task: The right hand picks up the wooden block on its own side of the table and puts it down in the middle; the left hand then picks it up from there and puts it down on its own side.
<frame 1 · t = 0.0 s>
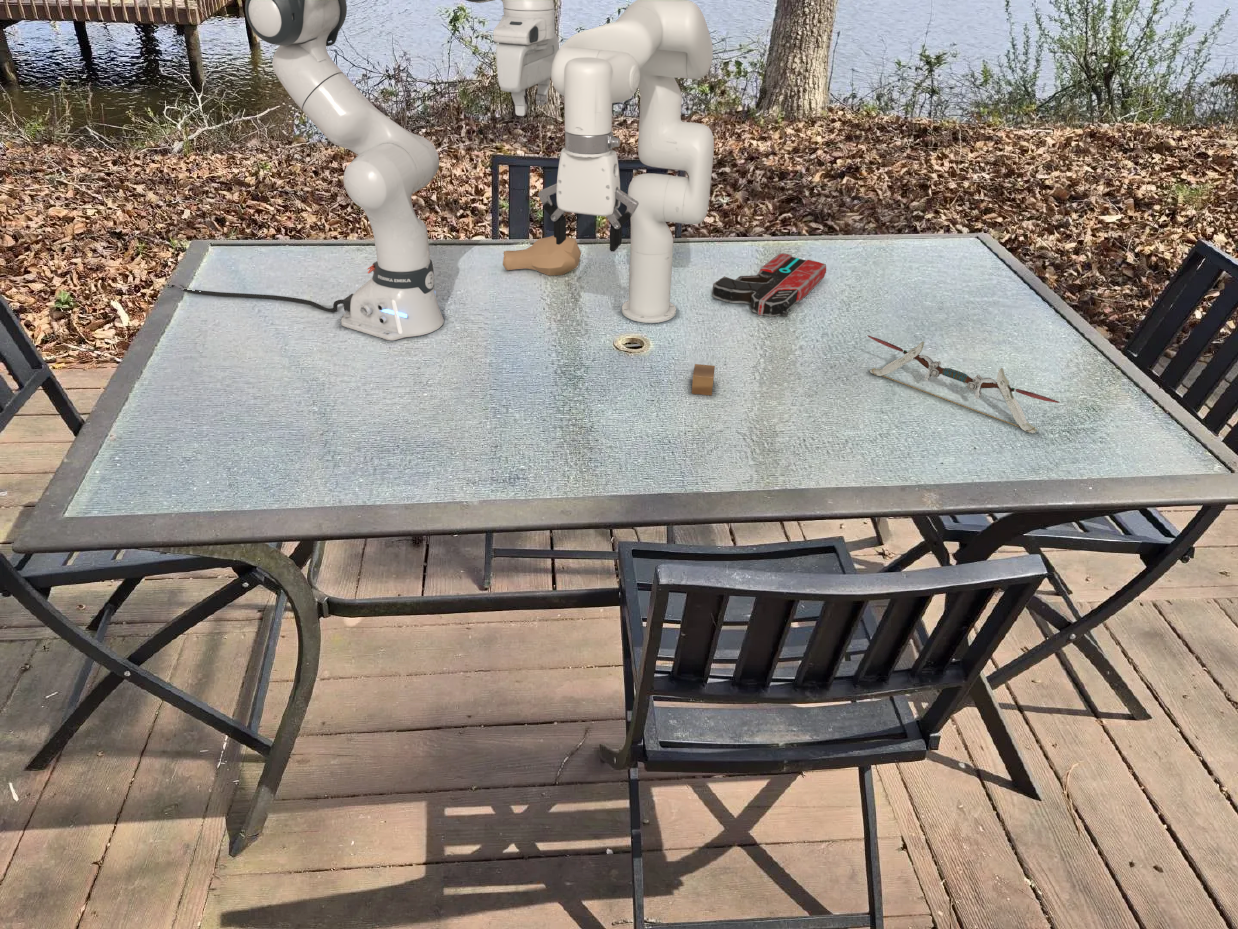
left hand: (531, 109, 161), 48 cm above the table, tool pointing down, fingers open, 8 cm apart
right hand: (587, 245, 151), 31 cm above the table, tool pointing down, fingers open, 9 cm apart
block: (702, 388, 174), on the table
bow: (948, 401, 172), on the table
squash: (542, 271, 224), on the table
gun: (770, 291, 216), on the table
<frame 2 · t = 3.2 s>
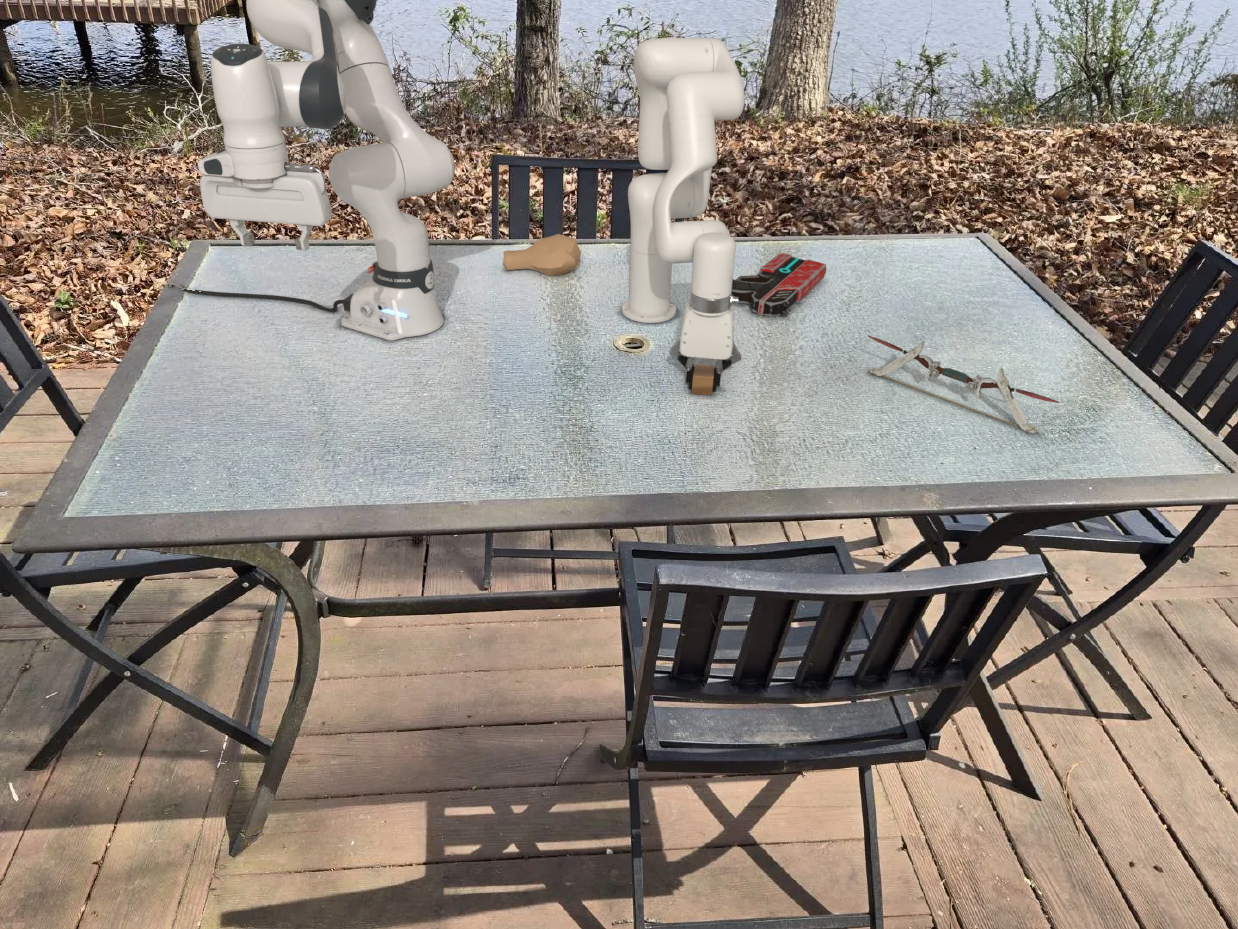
left hand: (275, 247, 144), 32 cm above the table, tool pointing down, fingers open, 8 cm apart
right hand: (702, 386, 174), 1 cm above the table, tool pointing down, fingers closed on block, 4 cm apart
block: (702, 388, 174), on the table, touching right hand
everything else where it was.
when the right hand's fingers open (2 cm above the table, at t = 6.6 s): block drops 1 cm, on the table.
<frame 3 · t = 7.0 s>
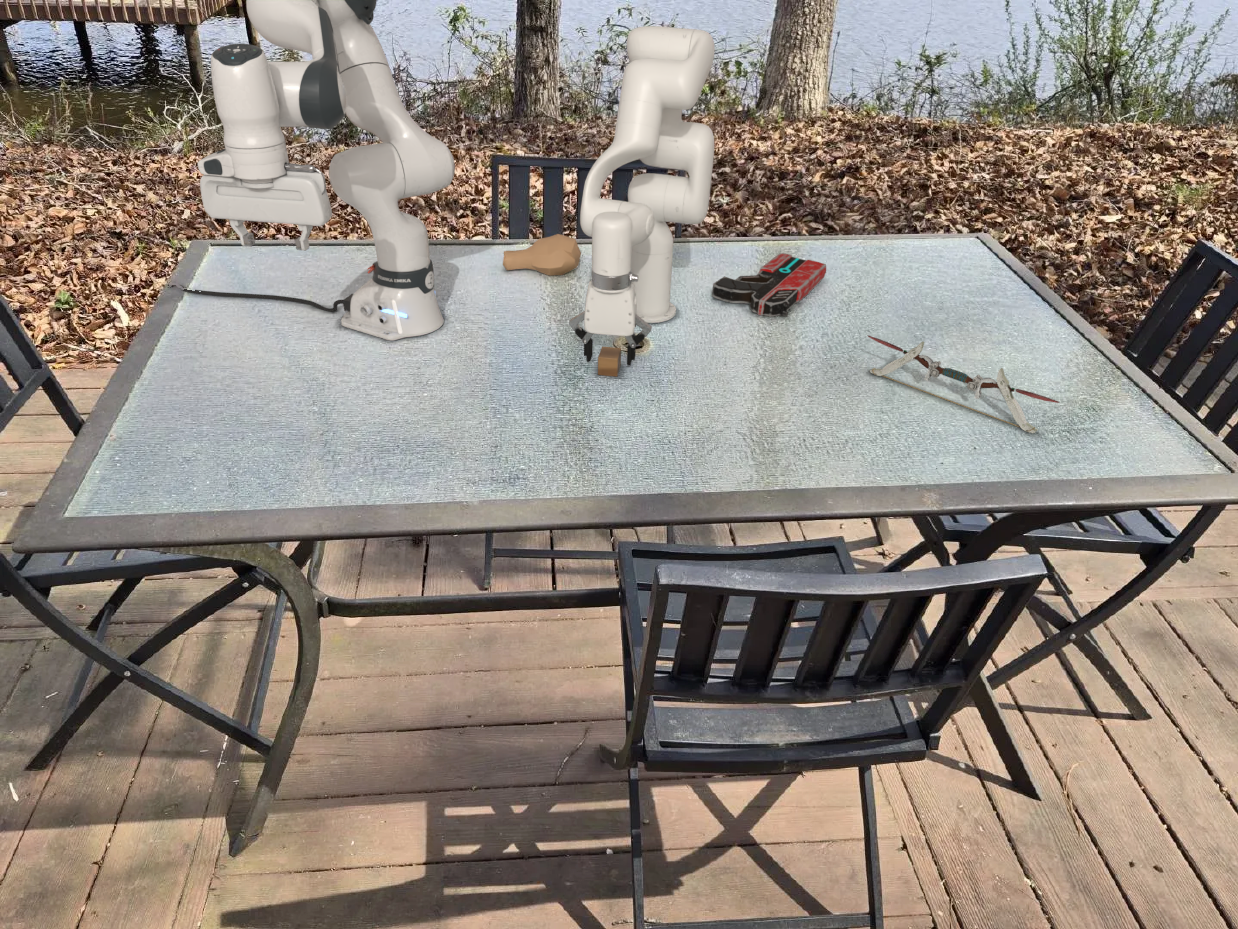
left hand: (275, 247, 144), 32 cm above the table, tool pointing down, fingers open, 8 cm apart
right hand: (609, 360, 178), 2 cm above the table, tool pointing down, fingers open, 7 cm apart
block: (609, 370, 179), on the table
everything else where it was.
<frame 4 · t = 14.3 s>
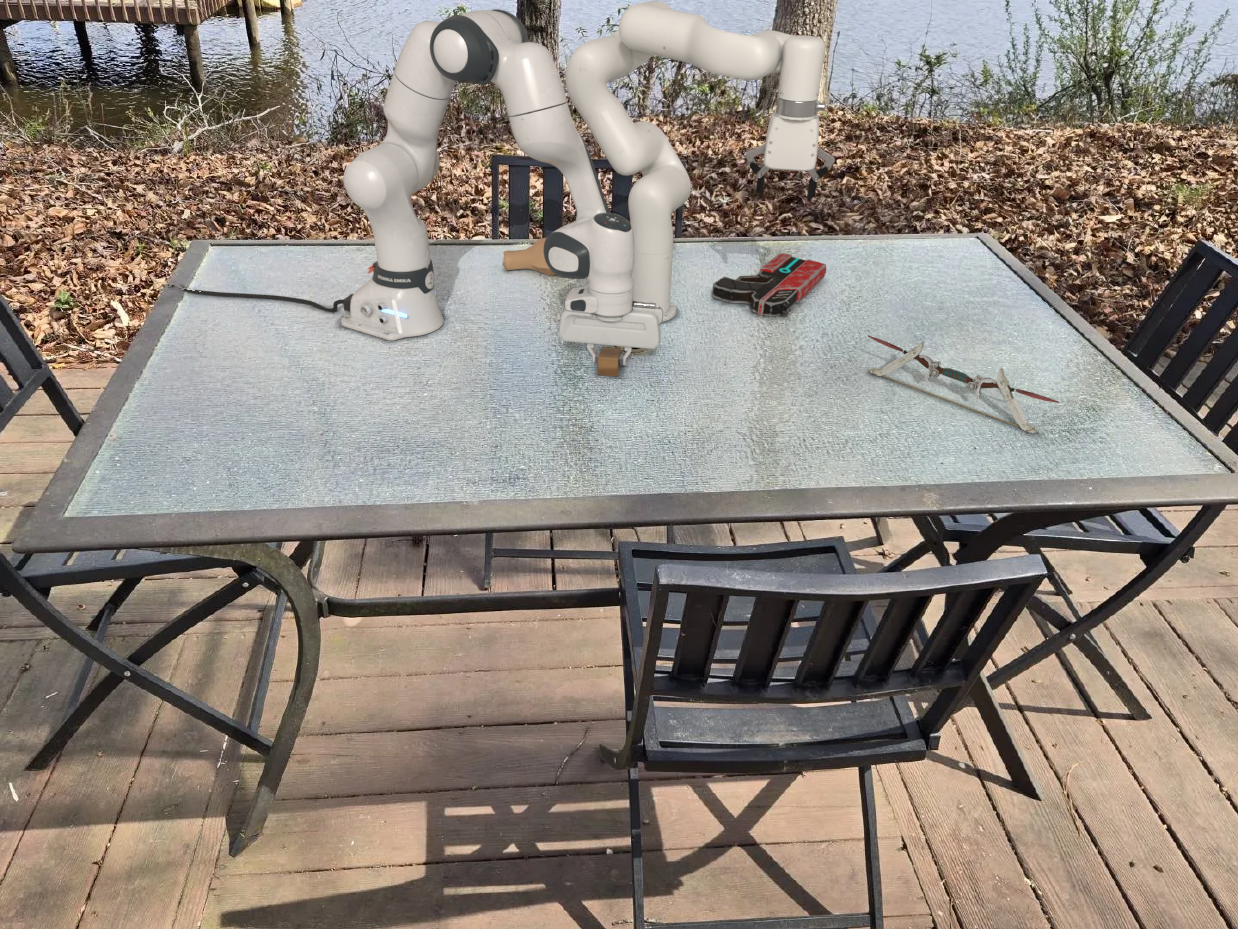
left hand: (609, 362, 178), 2 cm above the table, tool pointing down, fingers closed on block, 4 cm apart
right hand: (784, 197, 176), 31 cm above the table, tool pointing down, fingers open, 9 cm apart
block: (609, 370, 179), on the table, touching left hand
everything else where it was.
when the left hand's fingers open (3 cm above the table, at t = 21.1 s): block drops 1 cm, on the table.
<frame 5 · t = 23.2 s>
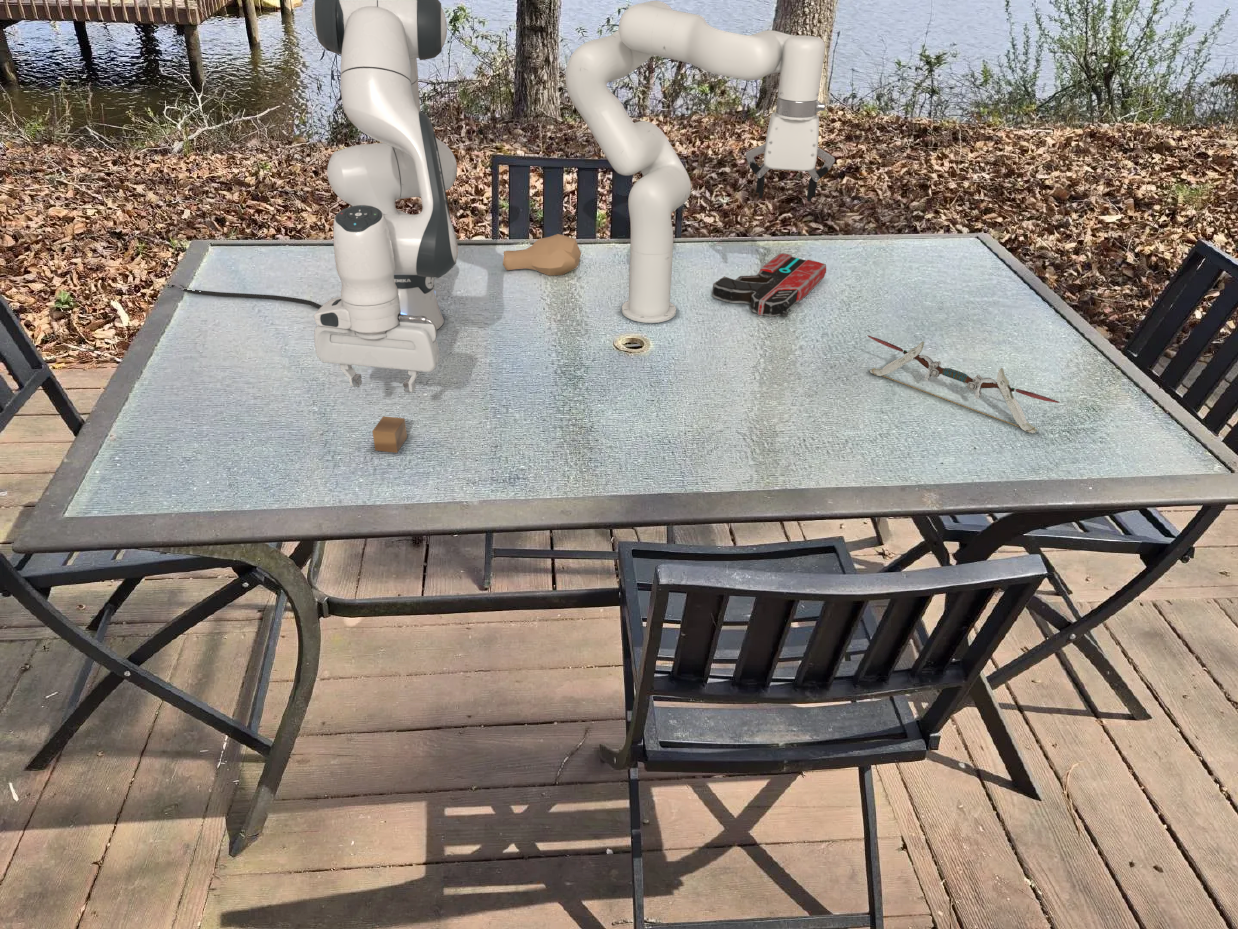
left hand: (383, 388, 148), 11 cm above the table, tool pointing down, fingers open, 8 cm apart
right hand: (784, 197, 176), 31 cm above the table, tool pointing down, fingers open, 9 cm apart
block: (391, 444, 154), on the table
everything else where it was.
at the end: block inside the target area (0.1 cm from its centre), on the table; block tilted 0°; the two hands never held the block at the same time; the left hand is holding nothing; the right hand is holding nothing; block at rest at the end (0.0 cm/s) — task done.
